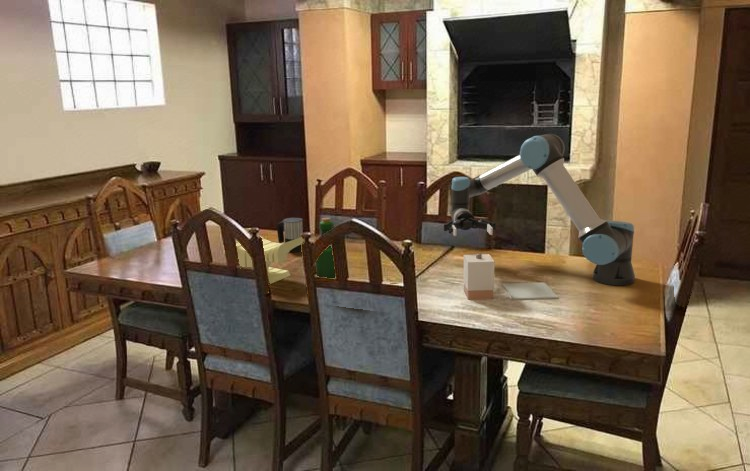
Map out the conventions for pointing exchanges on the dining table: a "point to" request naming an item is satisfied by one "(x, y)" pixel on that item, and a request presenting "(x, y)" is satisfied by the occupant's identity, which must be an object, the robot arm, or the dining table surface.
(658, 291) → the dining table surface
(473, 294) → the dish
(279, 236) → the milk frother
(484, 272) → the cover
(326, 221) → the bottle
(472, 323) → the dining table surface
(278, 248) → the slatted curved stool
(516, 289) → the mat
